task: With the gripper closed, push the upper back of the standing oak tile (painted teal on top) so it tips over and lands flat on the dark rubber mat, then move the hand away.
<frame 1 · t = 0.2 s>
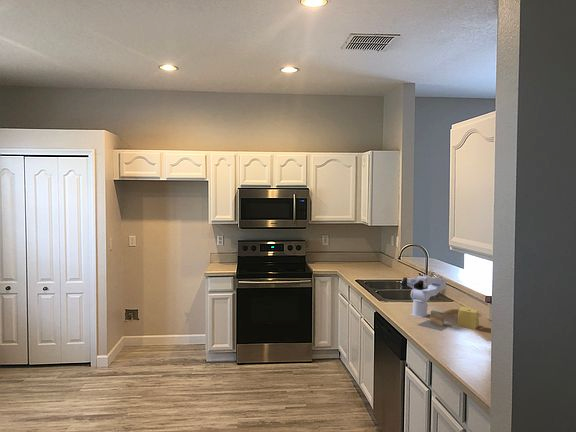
hand: (408, 284, 271), 21 cm above the countertop, tool horizontal, fingers open, 7 cm apart
tile: (436, 324, 269), resting on mat
mat: (434, 325, 267), on the countertop
cheese: (467, 327, 269), on the countertop
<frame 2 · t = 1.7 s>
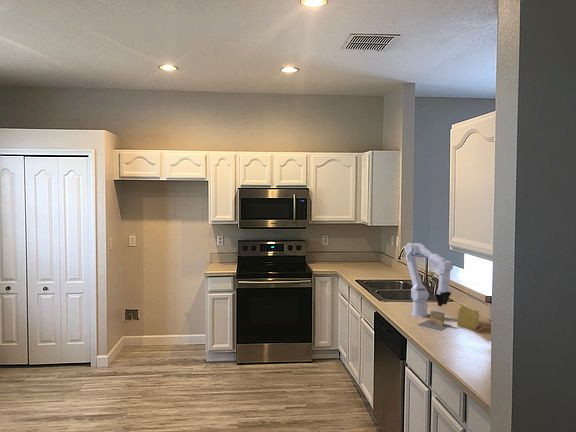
hand: (442, 305, 273), 10 cm above the countertop, tool pointing down, fingers open, 6 cm apart
nothing on the countertop moved.
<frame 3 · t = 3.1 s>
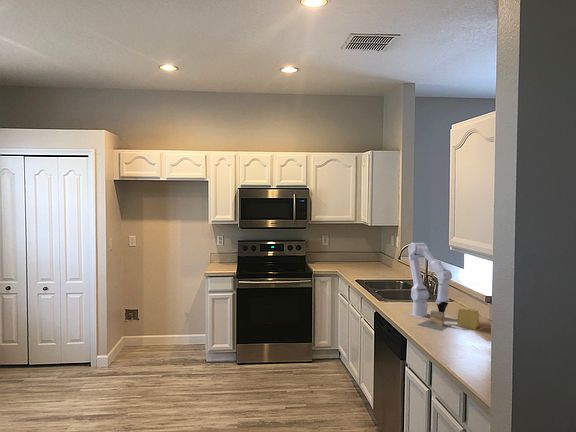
hand: (441, 314, 273), 5 cm above the countertop, tool pointing down, fingers closed
nothing on the countertop moved.
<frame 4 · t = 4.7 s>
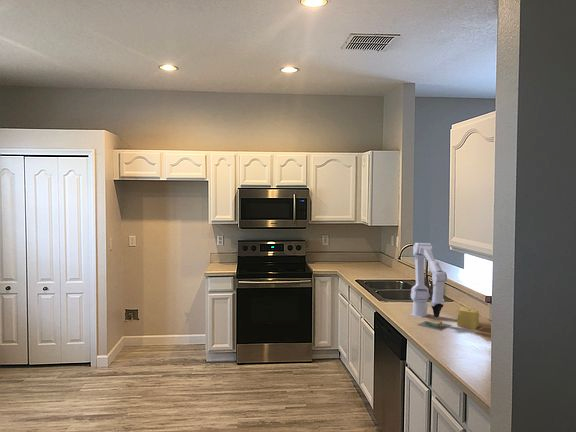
hand: (436, 316, 268), 5 cm above the countertop, tool pointing down, fingers closed
tile: (436, 322, 268), point 2 cm above the countertop, tilted 90°, touching mat
everything else where it was.
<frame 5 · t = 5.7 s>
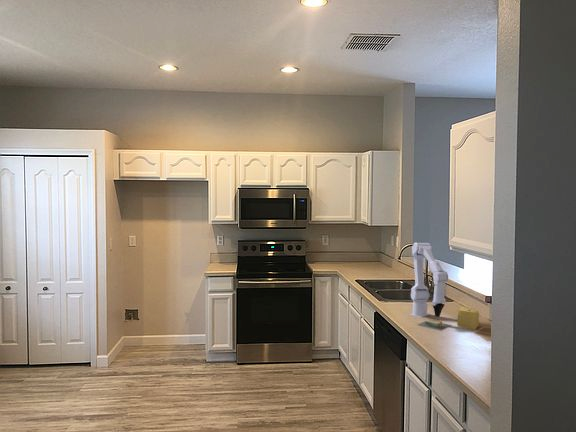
hand: (437, 316, 269), 5 cm above the countertop, tool pointing down, fingers closed
nothing on the countertop moved.
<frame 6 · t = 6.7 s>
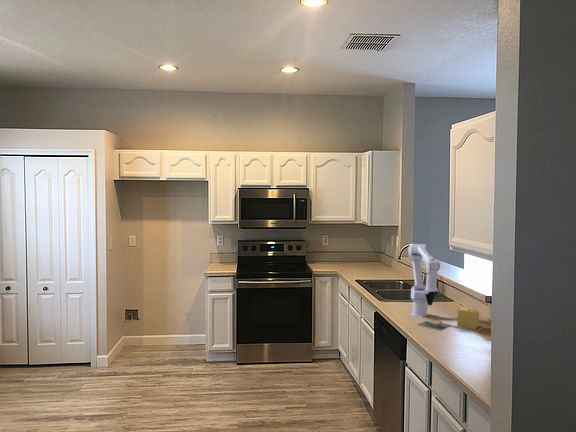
hand: (429, 304, 272), 10 cm above the countertop, tool pointing down, fingers closed
nothing on the countertop moved.
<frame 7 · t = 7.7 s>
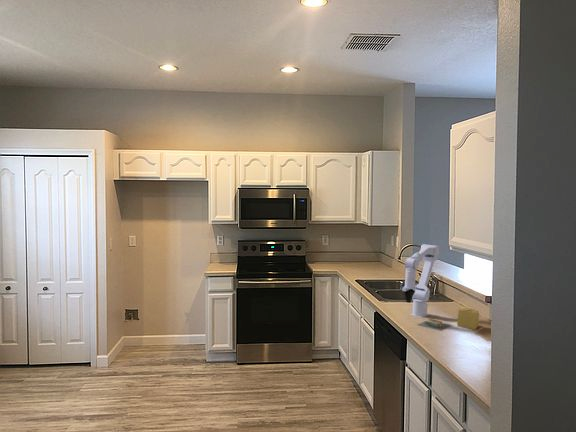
hand: (408, 302, 275), 10 cm above the countertop, tool pointing down, fingers closed
nothing on the countertop moved.
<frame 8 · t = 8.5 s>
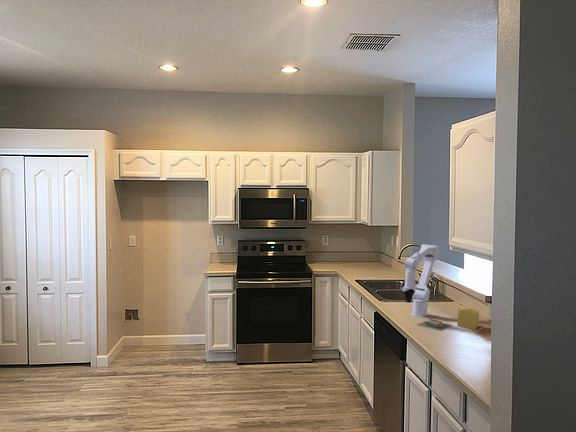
hand: (408, 302, 275), 10 cm above the countertop, tool pointing down, fingers closed
nothing on the countertop moved.
at the end: tile tilted 90°; tile inside the target area on the mat (2.2 cm from its centre), point 1.6 cm above the mat's base; the gripper is holding nothing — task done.
